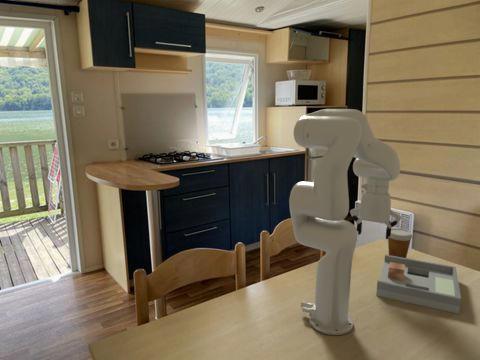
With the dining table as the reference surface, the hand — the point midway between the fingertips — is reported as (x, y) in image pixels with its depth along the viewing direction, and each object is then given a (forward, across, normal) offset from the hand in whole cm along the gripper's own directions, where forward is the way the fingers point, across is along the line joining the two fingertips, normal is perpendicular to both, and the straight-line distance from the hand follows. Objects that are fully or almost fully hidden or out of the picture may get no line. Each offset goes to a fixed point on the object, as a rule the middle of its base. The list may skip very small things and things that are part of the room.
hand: (373, 235), depth 133 cm
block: (+14, +9, 0) cm, 16 cm away
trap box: (+16, +16, 0) cm, 23 cm away
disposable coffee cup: (+17, +8, +22) cm, 29 cm away
